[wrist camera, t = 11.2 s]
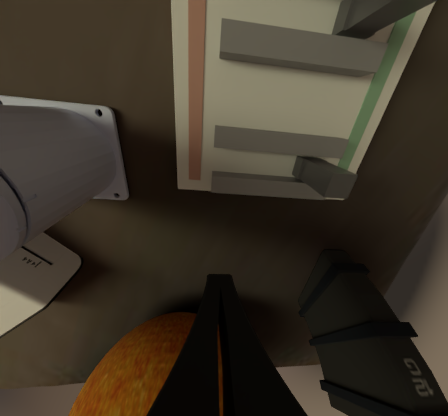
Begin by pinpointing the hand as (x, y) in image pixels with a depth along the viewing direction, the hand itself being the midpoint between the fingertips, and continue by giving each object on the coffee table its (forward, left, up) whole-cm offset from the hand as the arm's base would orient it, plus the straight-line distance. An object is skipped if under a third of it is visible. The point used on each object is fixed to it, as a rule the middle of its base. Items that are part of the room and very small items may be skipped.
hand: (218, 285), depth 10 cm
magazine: (+15, -11, -10) cm, 21 cm away
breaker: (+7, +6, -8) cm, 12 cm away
